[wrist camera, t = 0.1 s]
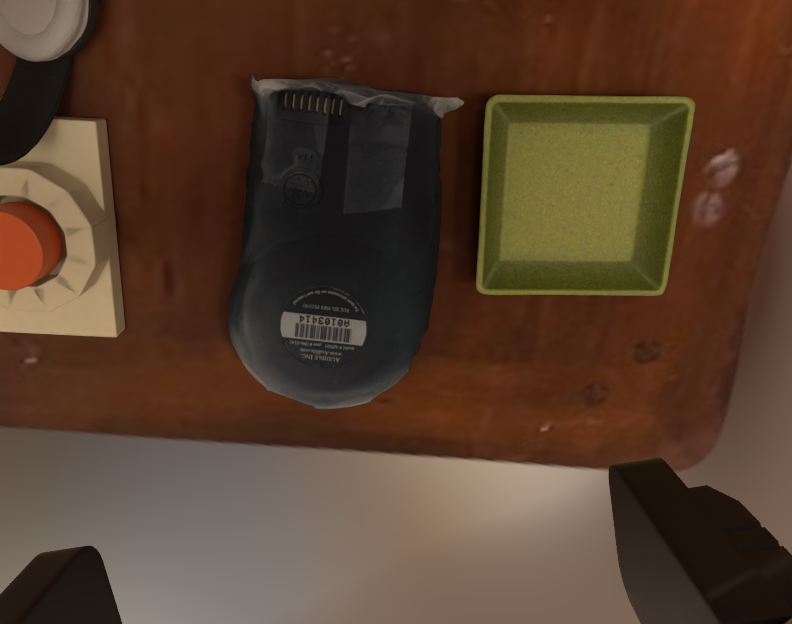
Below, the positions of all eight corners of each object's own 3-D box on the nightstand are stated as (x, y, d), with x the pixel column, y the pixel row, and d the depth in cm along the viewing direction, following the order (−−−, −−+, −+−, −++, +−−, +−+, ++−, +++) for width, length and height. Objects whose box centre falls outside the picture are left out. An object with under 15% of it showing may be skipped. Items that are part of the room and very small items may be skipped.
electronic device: (243, 76, 30) (226, 390, 33) (233, 60, 25) (215, 435, 28) (442, 102, 32) (408, 398, 35) (474, 91, 26) (430, 442, 30)
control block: (-36, 110, 29) (-81, 115, 26) (110, 119, 29) (80, 125, 26) (-1, 322, 33) (-38, 346, 30) (129, 328, 33) (104, 353, 30)
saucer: (469, 281, 32) (475, 295, 30) (479, 92, 29) (486, 94, 27) (648, 282, 32) (665, 296, 30) (677, 94, 29) (698, 96, 27)
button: (-25, 198, 28) (-50, 207, 26) (58, 203, 28) (37, 212, 26) (-12, 276, 29) (-36, 288, 27) (67, 280, 29) (48, 293, 27)
